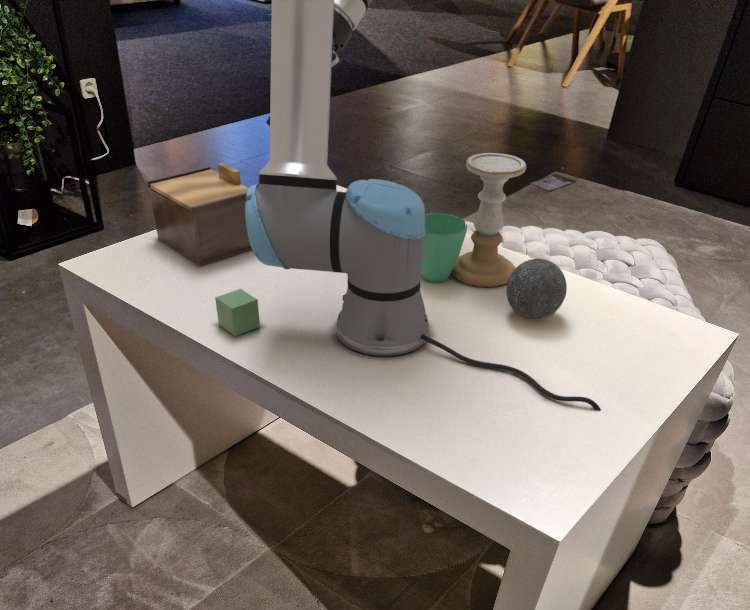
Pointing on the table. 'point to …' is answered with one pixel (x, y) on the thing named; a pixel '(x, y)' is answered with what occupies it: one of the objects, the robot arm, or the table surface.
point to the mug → (441, 245)
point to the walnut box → (201, 224)
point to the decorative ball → (536, 289)
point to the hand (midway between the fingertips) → (272, 127)
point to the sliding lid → (202, 186)
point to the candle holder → (488, 222)
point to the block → (237, 312)
